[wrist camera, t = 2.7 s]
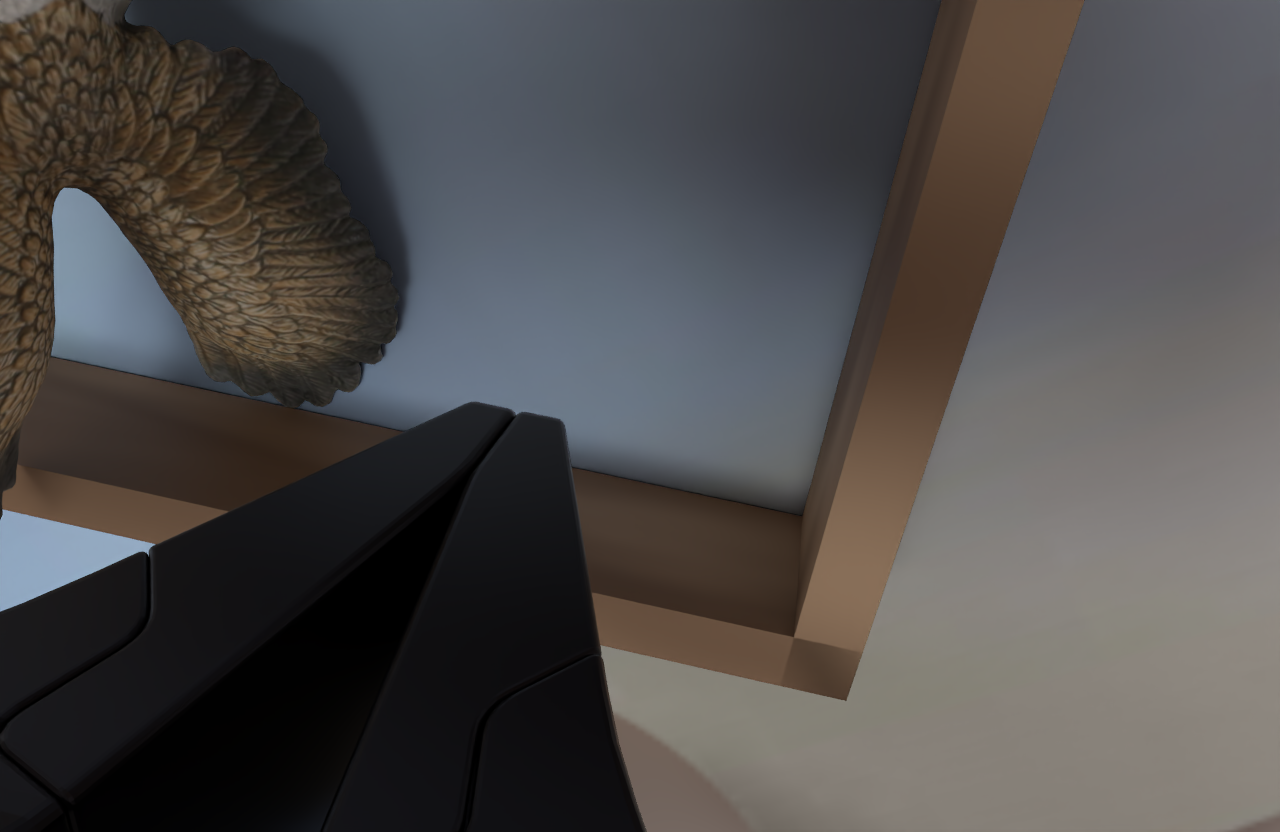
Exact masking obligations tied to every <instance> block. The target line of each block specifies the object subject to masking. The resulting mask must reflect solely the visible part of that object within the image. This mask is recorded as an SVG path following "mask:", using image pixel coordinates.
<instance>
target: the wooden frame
mask: <svg viewBox="0 0 1280 832" xmlns="http://www.w3.org/2000/svg"><path fill="white" fill-rule="evenodd" d="M1084 1H1085V0H942V1H941V5H940V8H939V12H938V16H937V19H936V23H935V27H934V31H933V34H932V38H931V42H930V45H929V49H928V53H927V56H926V60H925V64H924V68H923V71H922V75H921V79H920V82H919V86H918V90H917V94H916V97H915V101H914V105H913V108H912V112H911V116H910V119H909V123H908V127H907V131H906V134H905V138H904V142H903V145H902V149H901V153H900V156H899V160H898V164H897V168H896V171H895V175H894V179H893V182H892V186H891V190H890V193H889V197H888V201H887V205H886V208H885V212H884V216H883V219H882V223H881V227H880V231H879V234H878V238H877V242H876V245H875V249H874V253H873V256H872V260H871V264H870V268H869V271H868V275H867V279H866V282H865V286H864V290H863V293H862V297H861V301H860V305H859V308H858V312H857V316H856V319H855V323H854V327H853V330H852V334H851V338H850V342H849V345H848V349H847V353H846V356H845V360H844V364H843V367H842V371H841V375H840V379H839V382H838V386H837V390H836V393H835V397H834V401H833V405H832V408H831V412H830V416H829V419H828V423H827V427H826V430H825V434H824V438H823V442H822V445H821V449H820V453H819V456H818V460H817V464H816V467H815V471H814V475H813V479H812V482H811V486H810V490H809V493H808V497H807V501H806V504H805V508H804V512H803V516H798V515H793V514H788V513H783V512H779V511H774V510H769V509H765V508H760V507H755V506H751V505H746V504H741V503H736V502H732V501H727V500H722V499H718V498H713V497H708V496H703V495H699V494H694V493H689V492H685V491H680V490H675V489H670V488H666V487H661V486H656V485H652V484H647V483H642V482H638V481H633V480H628V479H623V478H619V477H614V476H609V475H605V474H600V473H595V472H590V471H586V470H581V469H576V468H572V473H573V479H574V486H575V492H576V498H577V504H578V510H579V517H580V523H581V529H582V535H583V541H584V548H585V554H586V560H587V566H588V573H589V579H590V585H591V591H592V597H593V604H594V610H595V616H596V622H597V628H598V635H599V641H600V645H603V646H607V647H612V648H616V649H620V650H625V651H629V652H634V653H638V654H642V655H647V656H651V657H656V658H660V659H664V660H669V661H673V662H678V663H682V664H686V665H691V666H695V667H700V668H704V669H708V670H713V671H717V672H722V673H726V674H730V675H735V676H739V677H744V678H748V679H752V680H757V681H761V682H766V683H770V684H774V685H779V686H783V687H788V688H792V689H797V690H801V691H805V692H810V693H814V694H819V695H823V696H827V697H832V698H836V699H841V700H845V701H846V700H847V697H848V694H849V691H850V688H851V685H852V682H853V679H854V676H855V673H856V671H857V668H858V665H859V662H860V659H861V656H862V653H863V650H864V647H865V644H866V641H867V638H868V635H869V632H870V629H871V626H872V624H873V621H874V618H875V615H876V612H877V609H878V606H879V603H880V600H881V597H882V594H883V591H884V588H885V585H886V582H887V579H888V577H889V574H890V571H891V568H892V565H893V562H894V559H895V556H896V553H897V550H898V547H899V544H900V541H901V538H902V535H903V532H904V529H905V527H906V524H907V521H908V518H909V515H910V512H911V509H912V506H913V503H914V500H915V497H916V494H917V491H918V488H919V485H920V482H921V480H922V477H923V474H924V471H925V468H926V465H927V462H928V459H929V456H930V453H931V450H932V447H933V444H934V441H935V438H936V435H937V433H938V430H939V427H940V424H941V421H942V418H943V415H944V412H945V409H946V406H947V403H948V400H949V397H950V394H951V391H952V388H953V386H954V383H955V380H956V377H957V374H958V371H959V368H960V365H961V362H962V359H963V356H964V353H965V350H966V347H967V344H968V341H969V338H970V336H971V333H972V330H973V327H974V324H975V321H976V318H977V315H978V312H979V309H980V306H981V303H982V300H983V297H984V294H985V291H986V289H987V286H988V283H989V280H990V277H991V274H992V271H993V268H994V265H995V262H996V259H997V256H998V253H999V250H1000V247H1001V244H1002V242H1003V239H1004V236H1005V233H1006V230H1007V227H1008V224H1009V221H1010V218H1011V215H1012V212H1013V209H1014V206H1015V203H1016V200H1017V197H1018V195H1019V192H1020V189H1021V186H1022V183H1023V180H1024V177H1025V174H1026V171H1027V168H1028V165H1029V162H1030V159H1031V156H1032V153H1033V150H1034V147H1035V145H1036V142H1037V139H1038V136H1039V133H1040V130H1041V127H1042V124H1043V121H1044V118H1045V115H1046V112H1047V109H1048V106H1049V103H1050V100H1051V98H1052V95H1053V92H1054V89H1055V86H1056V83H1057V80H1058V77H1059V74H1060V71H1061V68H1062V65H1063V62H1064V59H1065V56H1066V53H1067V51H1068V48H1069V45H1070V42H1071V39H1072V36H1073V33H1074V30H1075V27H1076V24H1077V21H1078V18H1079V15H1080V12H1081V9H1082V6H1083V4H1084ZM400 433H403V432H402V431H397V430H393V429H388V428H383V427H379V426H374V425H369V424H364V423H360V422H355V421H350V420H346V419H341V418H336V417H331V416H327V415H322V414H317V413H313V412H308V411H303V410H298V409H294V408H289V407H284V406H280V405H275V404H270V403H266V402H261V401H256V400H251V399H247V398H242V397H237V396H233V395H228V394H223V393H218V392H214V391H209V390H204V389H200V388H195V387H190V386H185V385H181V384H176V383H171V382H167V381H162V380H157V379H152V378H148V377H143V376H138V375H134V374H129V373H124V372H120V371H115V370H110V369H105V368H101V367H96V366H91V365H87V364H82V363H77V362H72V361H68V360H63V359H58V358H54V357H50V360H49V366H48V369H47V372H46V375H45V378H44V380H43V383H42V384H41V386H40V388H39V390H38V393H37V395H36V398H35V400H34V403H33V405H32V407H31V409H30V410H29V412H28V413H27V415H26V416H25V417H24V420H23V424H22V427H21V431H20V440H19V444H18V445H19V454H18V462H17V469H16V484H15V485H14V486H13V488H11V489H8V490H6V491H4V492H3V494H2V509H4V510H8V511H13V512H17V513H21V514H26V515H30V516H35V517H39V518H44V519H48V520H52V521H57V522H61V523H66V524H70V525H74V526H79V527H83V528H88V529H92V530H96V531H101V532H105V533H110V534H114V535H118V536H123V537H127V538H132V539H136V540H140V541H145V542H149V543H154V544H158V543H161V542H163V541H165V540H167V539H169V538H172V537H174V536H176V535H178V534H181V533H183V532H185V531H187V530H189V529H192V528H194V527H196V526H198V525H200V524H203V523H205V522H207V521H209V520H211V519H214V518H216V517H218V516H220V515H222V514H225V513H227V512H229V511H231V510H233V509H236V508H238V507H240V506H242V505H244V504H247V503H249V502H251V501H253V500H255V499H258V498H260V497H262V496H264V495H266V494H268V493H271V492H273V491H275V490H277V489H279V488H282V487H284V486H286V485H288V484H290V483H293V482H295V481H297V480H299V479H301V478H304V477H306V476H308V475H310V474H312V473H315V472H317V471H319V470H321V469H323V468H326V467H328V466H330V465H332V464H334V463H337V462H339V461H341V460H343V459H345V458H348V457H350V456H352V455H354V454H356V453H359V452H361V451H363V450H365V449H367V448H370V447H372V446H374V445H376V444H378V443H381V442H383V441H385V440H387V439H389V438H392V437H394V436H396V435H398V434H400Z"/></svg>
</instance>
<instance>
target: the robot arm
mask: <svg viewBox="0 0 1280 832" xmlns="http://www.w3.org/2000/svg"><path fill="white" fill-rule="evenodd" d="M0 832H647V831H646V828H645V825H644V822H643V819H642V817H641V814H640V811H639V808H638V805H637V802H636V799H635V795H634V792H633V788H632V785H631V782H630V778H629V775H628V772H627V768H626V765H625V762H624V758H623V755H622V752H621V748H620V745H619V741H618V736H617V731H616V726H615V721H614V717H613V712H612V707H611V702H610V698H609V693H608V687H607V681H606V675H605V669H604V662H603V659H602V658H601V647H600V641H599V635H598V628H597V622H596V616H595V610H594V604H593V597H592V591H591V585H590V579H589V573H588V566H587V560H586V554H585V548H584V541H583V535H582V529H581V523H580V517H579V510H578V504H577V498H576V492H575V486H574V479H573V473H572V467H571V461H570V455H569V448H568V442H567V436H566V430H565V425H564V423H563V422H562V421H561V420H560V419H557V418H553V417H548V416H543V415H538V414H533V413H528V412H521V413H519V414H517V415H516V414H515V412H514V411H513V410H511V409H508V408H504V407H499V406H494V405H490V404H485V403H480V402H470V403H467V404H464V405H462V406H460V407H457V408H455V409H453V410H451V411H449V412H446V413H444V414H442V415H440V416H438V417H435V418H433V419H431V420H429V421H427V422H425V423H422V424H420V425H418V426H416V427H414V428H411V429H409V430H407V431H405V432H403V433H400V434H398V435H396V436H394V437H392V438H389V439H387V440H385V441H383V442H381V443H378V444H376V445H374V446H372V447H370V448H367V449H365V450H363V451H361V452H359V453H356V454H354V455H352V456H350V457H348V458H345V459H343V460H341V461H339V462H337V463H334V464H332V465H330V466H328V467H326V468H323V469H321V470H319V471H317V472H315V473H312V474H310V475H308V476H306V477H304V478H301V479H299V480H297V481H295V482H293V483H290V484H288V485H286V486H284V487H282V488H279V489H277V490H275V491H273V492H271V493H268V494H266V495H264V496H262V497H260V498H258V499H255V500H253V501H251V502H249V503H247V504H244V505H242V506H240V507H238V508H236V509H233V510H231V511H229V512H227V513H225V514H222V515H220V516H218V517H216V518H214V519H211V520H209V521H207V522H205V523H203V524H200V525H198V526H196V527H194V528H192V529H189V530H187V531H185V532H183V533H181V534H178V535H176V536H174V537H172V538H169V539H167V540H165V541H163V542H161V543H158V544H156V545H154V546H152V547H151V548H150V549H149V557H148V554H147V553H145V552H138V553H136V554H134V555H131V556H129V557H127V558H125V559H123V560H121V561H118V562H116V563H114V564H112V565H110V566H107V567H105V568H103V569H101V570H99V571H96V572H94V573H92V574H89V575H87V576H85V577H82V578H80V579H78V580H75V581H73V582H71V583H68V584H66V585H64V586H62V587H59V588H57V589H55V590H52V591H50V592H48V593H45V594H43V595H41V596H38V597H36V598H34V599H31V600H29V601H27V602H24V603H22V604H19V605H17V606H14V607H12V608H9V609H6V610H4V611H1V612H0Z"/></svg>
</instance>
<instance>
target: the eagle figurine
mask: <svg viewBox="0 0 1280 832" xmlns="http://www.w3.org/2000/svg"><path fill="white" fill-rule="evenodd" d="M131 1H132V0H0V519H1V517H2V515H3V514H2V494H3V492H4V491H6V490H8V489H11V488H13V486H14V485H15V484H16V469H17V462H18V454H19V445H18V444H19V440H20V431H21V427H22V424H23V420H24V417H25V416H26V415H27V413H28V412H29V410H30V409H31V407H32V405H33V403H34V400H35V398H36V395H37V393H38V390H39V388H40V386H41V384H42V383H43V380H44V378H45V375H46V372H47V369H48V366H49V360H50V356H51V350H52V345H53V340H54V327H55V307H54V241H53V229H52V213H53V207H54V202H55V200H56V198H57V196H58V194H59V192H60V191H61V190H62V189H63V188H77V189H80V190H82V191H83V192H85V193H87V194H89V195H90V196H92V197H93V198H95V199H96V200H97V201H98V202H99V203H100V204H101V206H102V207H103V208H104V209H105V211H106V212H107V213H108V214H109V215H110V217H111V218H112V219H113V220H114V221H115V223H116V224H117V225H118V227H119V228H120V230H121V231H122V233H123V234H124V235H125V236H126V238H127V239H128V240H129V241H130V243H131V244H132V245H133V246H134V247H135V249H136V250H137V252H138V253H139V254H140V256H141V257H142V258H143V260H144V261H145V263H146V264H147V266H148V267H149V269H150V270H151V272H152V273H153V275H154V277H155V279H156V281H157V283H158V284H159V286H160V288H161V290H162V291H163V293H164V294H165V296H166V297H167V299H168V300H169V301H170V303H171V304H172V305H173V307H174V308H175V309H176V310H177V312H178V313H179V315H180V316H181V318H182V321H183V322H184V324H185V326H186V328H187V331H188V334H189V336H190V338H191V340H192V342H193V344H194V348H195V351H196V354H197V356H198V358H199V361H200V363H201V365H202V367H203V368H204V370H205V372H206V374H207V375H208V376H209V377H210V378H211V379H213V380H214V381H217V382H226V381H232V382H233V383H235V384H236V385H237V386H239V387H240V388H241V389H242V390H243V391H244V392H245V393H247V394H248V395H250V396H260V395H264V394H266V393H268V392H270V393H271V394H272V395H273V396H274V397H275V398H276V399H277V401H278V402H280V403H281V404H283V405H284V406H286V407H289V408H296V407H299V406H300V405H301V404H302V403H303V402H304V401H308V402H310V403H311V404H313V405H315V406H319V407H323V406H326V405H327V404H329V403H330V402H331V401H332V398H333V395H334V393H335V391H336V390H338V389H339V390H341V391H344V392H352V391H353V390H355V389H356V387H357V386H358V385H359V382H360V378H361V368H360V364H359V363H360V362H364V363H368V364H376V363H377V362H379V361H381V359H382V357H383V355H382V353H381V346H380V345H381V344H382V343H385V344H387V343H390V342H391V341H392V340H393V339H394V338H395V336H396V334H397V331H396V324H397V320H398V312H397V310H396V309H395V308H394V306H395V305H396V304H397V302H398V300H399V295H398V291H397V289H396V288H395V286H394V285H393V284H392V283H391V278H392V276H393V273H392V270H391V267H390V266H389V264H388V263H387V262H385V261H383V260H380V259H379V258H377V257H376V256H375V253H376V251H375V246H374V244H373V243H372V241H371V239H370V235H369V230H368V229H367V228H366V227H365V226H364V224H362V223H361V222H360V221H358V220H356V219H354V218H351V217H350V216H349V214H350V211H351V204H350V202H349V200H348V198H347V197H346V196H345V195H344V194H343V193H342V191H341V187H340V179H338V178H337V175H336V174H335V173H334V172H333V171H332V170H331V169H330V168H328V167H327V166H325V164H324V158H325V156H326V154H327V152H328V149H327V144H326V142H325V141H324V140H323V139H322V138H321V136H320V134H319V130H320V124H319V121H318V119H317V117H316V116H315V114H313V113H312V112H310V111H309V110H308V109H307V108H306V107H305V104H304V102H303V100H302V99H301V97H300V96H299V95H298V94H297V93H296V92H295V91H293V90H292V89H290V88H289V87H287V86H285V85H284V84H283V83H281V82H280V80H279V78H278V76H277V74H276V72H275V71H274V69H273V68H272V66H271V65H270V64H269V63H267V62H266V61H265V60H264V59H252V58H251V57H250V56H249V55H248V54H247V53H246V52H244V51H243V50H241V49H240V48H237V47H230V48H227V49H224V50H222V51H215V52H213V51H211V50H210V49H208V48H207V47H206V46H205V45H203V44H201V43H198V42H196V41H193V40H182V41H180V42H178V43H176V44H175V45H170V44H169V43H168V42H167V41H166V40H165V39H164V37H163V36H162V35H161V34H160V32H159V31H157V30H156V29H155V28H153V27H149V26H136V25H132V24H130V23H128V22H127V21H126V20H125V18H124V14H125V12H126V10H127V8H128V6H129V4H130V2H131Z"/></svg>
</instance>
